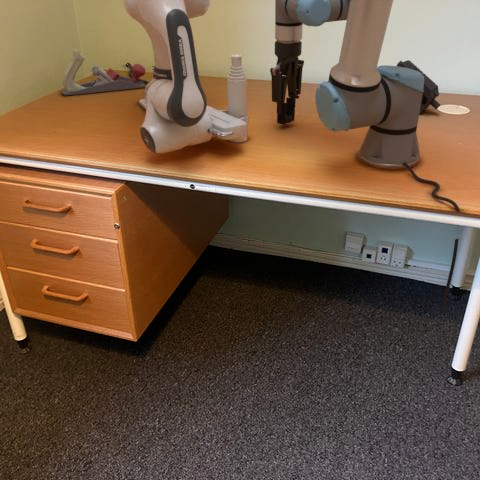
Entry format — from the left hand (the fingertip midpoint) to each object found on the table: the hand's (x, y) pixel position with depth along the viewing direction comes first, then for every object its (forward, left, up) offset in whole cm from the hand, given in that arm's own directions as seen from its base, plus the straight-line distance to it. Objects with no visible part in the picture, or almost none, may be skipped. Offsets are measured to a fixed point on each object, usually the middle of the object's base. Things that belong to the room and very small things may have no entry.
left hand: (240, 115), depth 150 cm
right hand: (+1, +16, -5) cm, 17 cm away
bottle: (0, -1, -7) cm, 7 cm away
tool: (+14, +57, -7) cm, 59 cm away
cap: (+1, +16, -3) cm, 17 cm away
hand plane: (-72, -10, -7) cm, 73 cm away
